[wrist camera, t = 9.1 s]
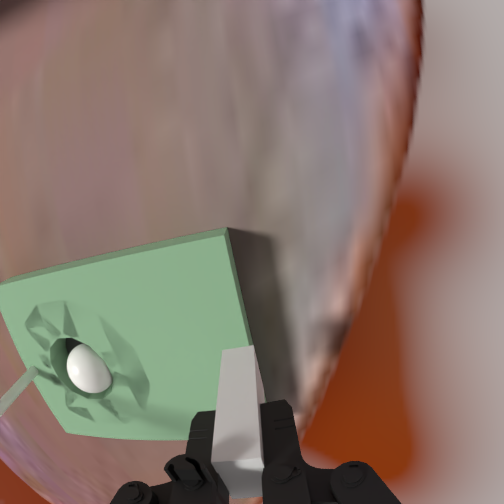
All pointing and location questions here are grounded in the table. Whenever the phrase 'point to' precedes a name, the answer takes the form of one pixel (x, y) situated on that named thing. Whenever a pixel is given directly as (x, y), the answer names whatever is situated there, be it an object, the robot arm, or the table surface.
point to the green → (130, 334)
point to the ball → (88, 370)
